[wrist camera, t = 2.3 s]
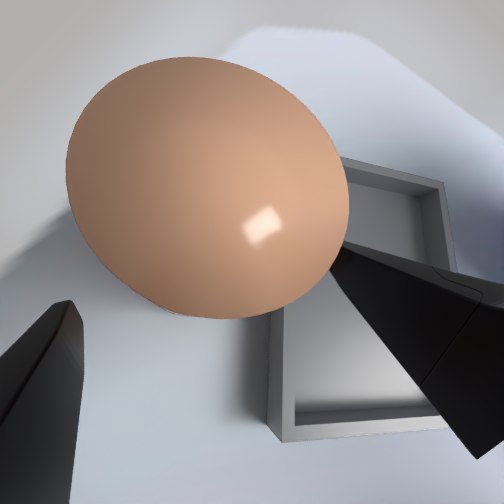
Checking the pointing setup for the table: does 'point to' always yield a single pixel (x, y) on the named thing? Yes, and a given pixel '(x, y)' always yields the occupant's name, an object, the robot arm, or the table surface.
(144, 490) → the table surface
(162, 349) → the table surface
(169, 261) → the peach rounded cylinder
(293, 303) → the grey tray
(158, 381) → the table surface
